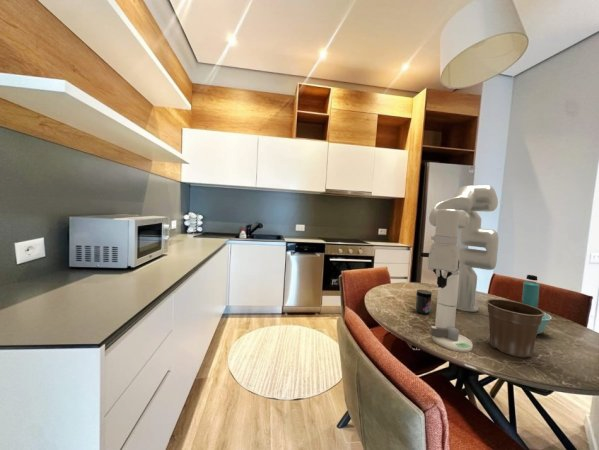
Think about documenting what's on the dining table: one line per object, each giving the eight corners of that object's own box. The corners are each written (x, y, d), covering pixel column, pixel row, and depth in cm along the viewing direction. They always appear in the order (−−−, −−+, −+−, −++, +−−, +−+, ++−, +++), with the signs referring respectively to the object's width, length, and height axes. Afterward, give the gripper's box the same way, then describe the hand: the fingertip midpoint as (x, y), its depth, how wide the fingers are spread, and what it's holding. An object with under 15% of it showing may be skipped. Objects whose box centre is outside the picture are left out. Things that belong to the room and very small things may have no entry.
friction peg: (455, 335, 97) (455, 327, 97) (460, 341, 93) (461, 331, 93) (429, 333, 98) (429, 324, 98) (433, 338, 94) (433, 329, 94)
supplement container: (420, 315, 120) (422, 294, 119) (412, 309, 127) (413, 289, 126) (433, 315, 121) (435, 294, 120) (424, 309, 128) (425, 289, 127)
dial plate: (427, 340, 96) (427, 336, 95) (439, 330, 104) (439, 327, 104) (466, 356, 86) (467, 351, 86) (476, 344, 95) (476, 339, 95)
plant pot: (477, 334, 103) (481, 295, 102) (527, 343, 97) (531, 303, 96) (490, 354, 88) (494, 309, 87) (549, 367, 82) (555, 319, 81)
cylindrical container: (451, 326, 110) (456, 269, 108) (456, 333, 103) (461, 273, 101) (433, 323, 112) (438, 267, 111) (436, 329, 105) (441, 271, 104)
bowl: (539, 342, 99) (542, 321, 99) (494, 325, 113) (495, 307, 112) (556, 334, 106) (558, 315, 106) (511, 319, 120) (513, 302, 120)
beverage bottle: (540, 317, 125) (544, 277, 124) (525, 315, 127) (529, 276, 126) (531, 311, 132) (535, 274, 131) (516, 310, 133) (520, 273, 132)
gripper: (421, 238, 100) (417, 284, 101) (465, 243, 89) (460, 294, 90) (428, 238, 105) (425, 281, 106) (470, 242, 94) (466, 290, 95)
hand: (441, 287), depth 98 cm, fingers closed
